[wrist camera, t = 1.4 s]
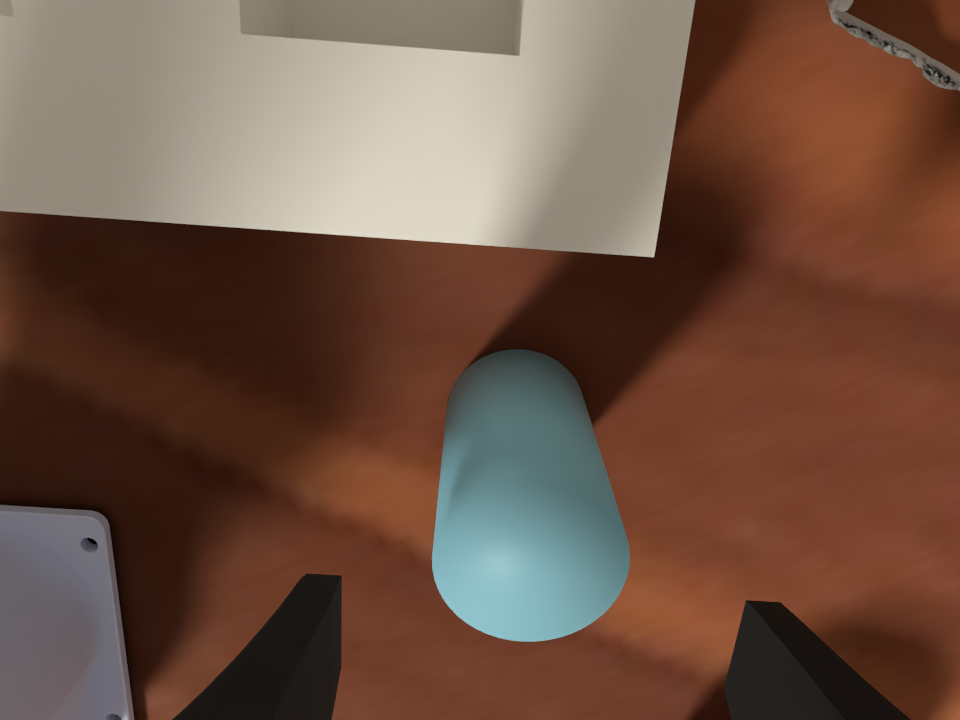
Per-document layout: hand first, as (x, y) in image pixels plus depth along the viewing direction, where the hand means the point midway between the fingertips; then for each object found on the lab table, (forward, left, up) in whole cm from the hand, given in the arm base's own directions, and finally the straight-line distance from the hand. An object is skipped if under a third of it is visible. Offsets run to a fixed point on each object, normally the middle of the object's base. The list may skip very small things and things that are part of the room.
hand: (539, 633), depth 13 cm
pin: (0, 0, -9) cm, 9 cm away
